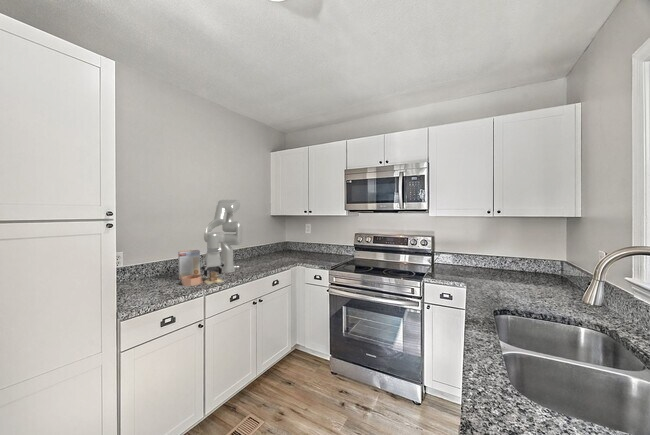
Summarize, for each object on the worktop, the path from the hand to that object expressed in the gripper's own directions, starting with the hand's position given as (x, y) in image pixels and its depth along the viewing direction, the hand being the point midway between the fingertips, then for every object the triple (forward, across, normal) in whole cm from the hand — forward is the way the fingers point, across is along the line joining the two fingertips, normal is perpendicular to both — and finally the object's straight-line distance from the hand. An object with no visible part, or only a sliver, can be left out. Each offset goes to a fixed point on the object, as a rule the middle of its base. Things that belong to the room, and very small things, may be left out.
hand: (212, 274), depth 189 cm
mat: (+6, 0, -1) cm, 6 cm away
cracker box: (+6, +9, -24) cm, 26 cm away
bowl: (+6, +12, -6) cm, 15 cm away
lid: (+5, 0, -1) cm, 5 cm away
